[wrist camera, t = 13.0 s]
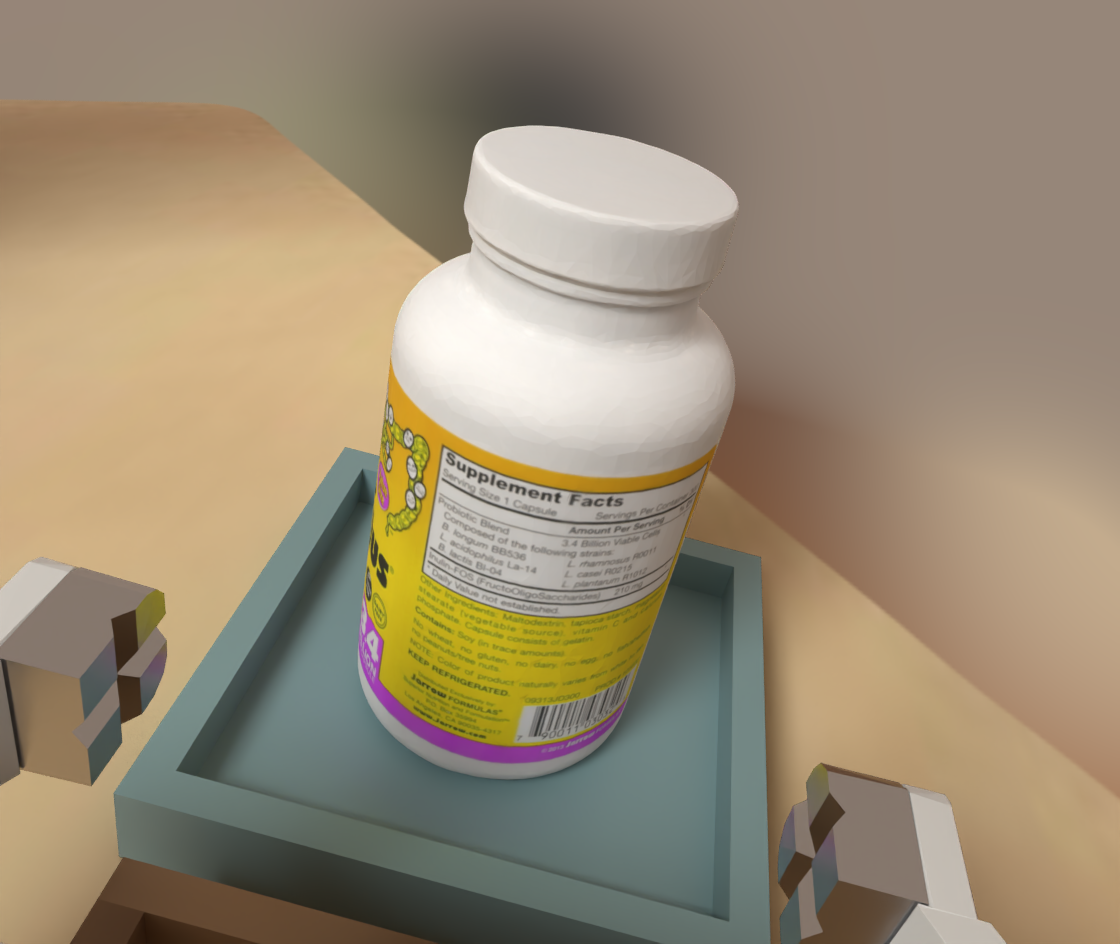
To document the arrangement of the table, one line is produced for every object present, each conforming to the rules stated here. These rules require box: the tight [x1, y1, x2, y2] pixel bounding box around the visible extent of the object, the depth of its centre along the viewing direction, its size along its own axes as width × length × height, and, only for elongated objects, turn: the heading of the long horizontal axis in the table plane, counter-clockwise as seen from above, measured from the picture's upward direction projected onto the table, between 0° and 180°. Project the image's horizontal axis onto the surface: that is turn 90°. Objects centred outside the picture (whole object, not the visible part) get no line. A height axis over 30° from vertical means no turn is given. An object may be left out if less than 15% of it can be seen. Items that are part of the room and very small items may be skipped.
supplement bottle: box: [358, 126, 739, 780], centre depth 20 cm, size 7×7×13 cm
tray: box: [114, 447, 771, 944], centre depth 24 cm, size 13×13×2 cm
